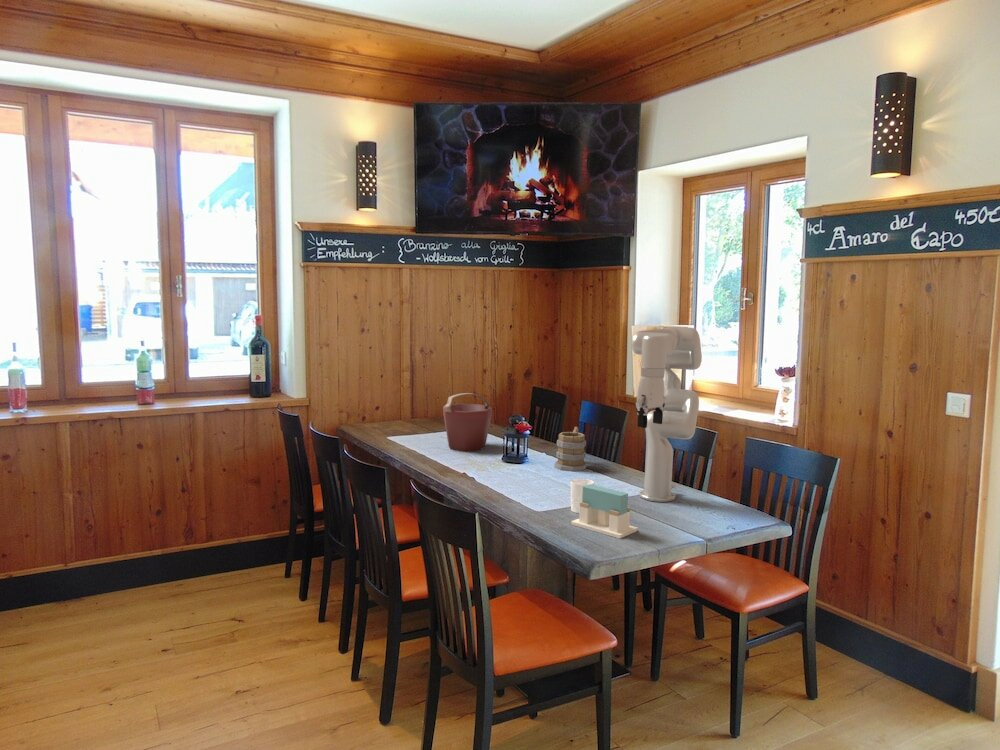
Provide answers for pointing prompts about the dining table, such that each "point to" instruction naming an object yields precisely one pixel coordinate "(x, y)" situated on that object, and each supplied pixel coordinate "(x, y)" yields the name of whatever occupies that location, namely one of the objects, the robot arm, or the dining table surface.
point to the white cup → (578, 492)
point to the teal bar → (605, 499)
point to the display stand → (604, 521)
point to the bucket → (467, 424)
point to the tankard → (571, 451)
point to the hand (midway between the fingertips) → (649, 425)
